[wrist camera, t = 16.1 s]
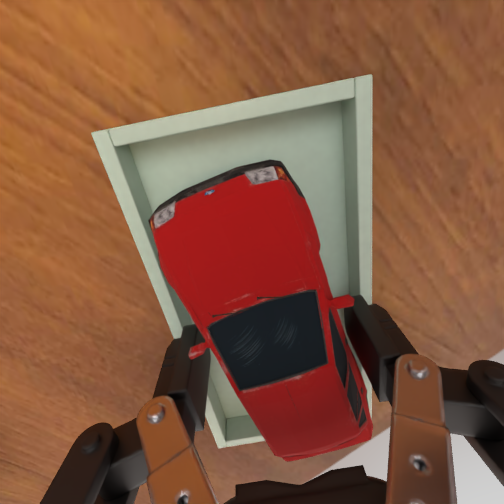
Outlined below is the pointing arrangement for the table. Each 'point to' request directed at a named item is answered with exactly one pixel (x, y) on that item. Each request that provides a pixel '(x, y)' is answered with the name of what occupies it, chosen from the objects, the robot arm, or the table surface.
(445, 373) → the robot arm
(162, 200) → the tray
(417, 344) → the table surface
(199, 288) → the toy car
